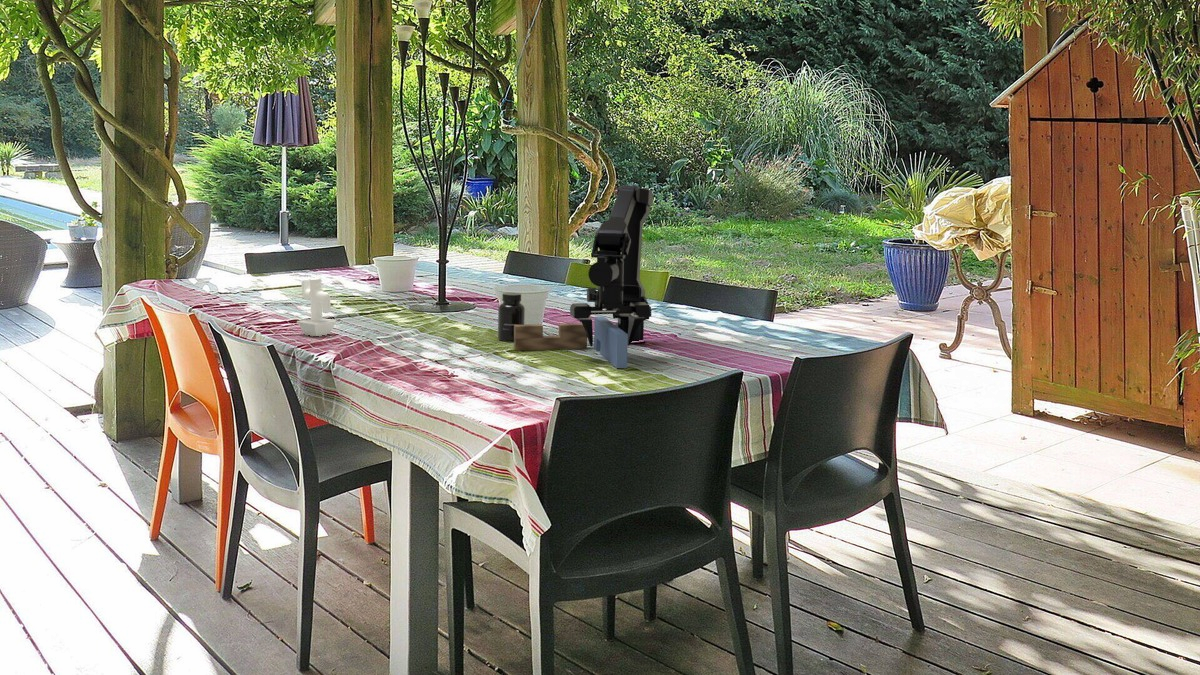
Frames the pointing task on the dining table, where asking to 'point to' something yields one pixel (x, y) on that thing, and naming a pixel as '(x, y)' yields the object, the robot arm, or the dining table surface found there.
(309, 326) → the figurine
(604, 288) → the robot arm
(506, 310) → the supplement bottle
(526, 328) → the walnut slotted board
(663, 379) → the dining table surface
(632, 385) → the dining table surface
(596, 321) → the slate blue tapered plate
